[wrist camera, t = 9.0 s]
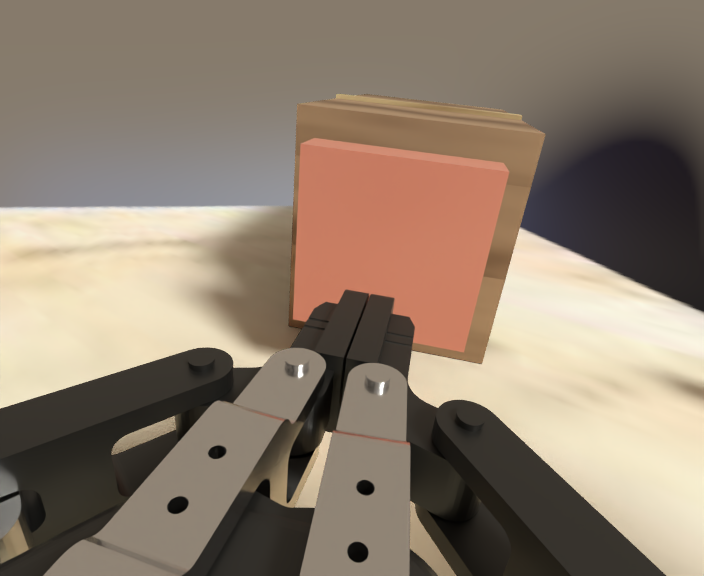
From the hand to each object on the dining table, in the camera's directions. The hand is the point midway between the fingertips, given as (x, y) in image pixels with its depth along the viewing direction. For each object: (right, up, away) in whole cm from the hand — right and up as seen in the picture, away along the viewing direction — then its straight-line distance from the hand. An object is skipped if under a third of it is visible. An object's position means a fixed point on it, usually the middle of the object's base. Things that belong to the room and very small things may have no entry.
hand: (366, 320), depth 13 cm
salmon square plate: (+3, +3, +16) cm, 16 cm away
